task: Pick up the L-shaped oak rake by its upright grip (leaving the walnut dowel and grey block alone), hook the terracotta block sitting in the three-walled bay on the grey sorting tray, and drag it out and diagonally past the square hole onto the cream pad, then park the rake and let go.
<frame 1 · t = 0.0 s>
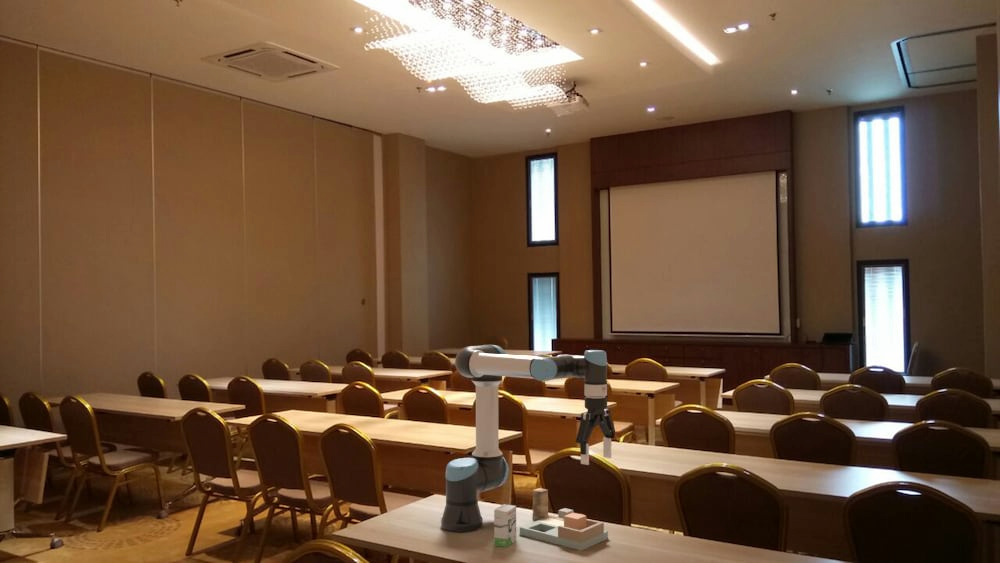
hand: (596, 460, 241), 28 cm above the table, fingers open, 13 cm apart
dowel: (590, 529, 259), on the table
crook: (540, 519, 270), on the table
block: (575, 532, 247), point 2 cm above the table, touching grey sorting tray
grey block: (565, 521, 268), on the table
grey sorting tray: (563, 536, 250), on the table
ink box: (505, 543, 244), on the table
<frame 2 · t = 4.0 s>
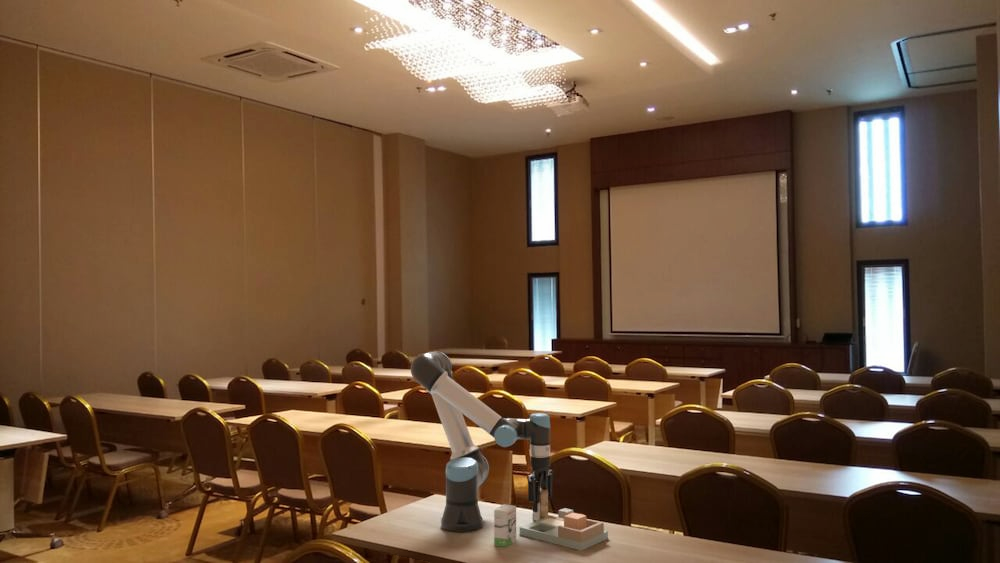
hand: (540, 518, 270), 0 cm above the table, fingers closed on crook, 4 cm apart
crook: (540, 519, 270), on the table, touching gripper
everything else where it was.
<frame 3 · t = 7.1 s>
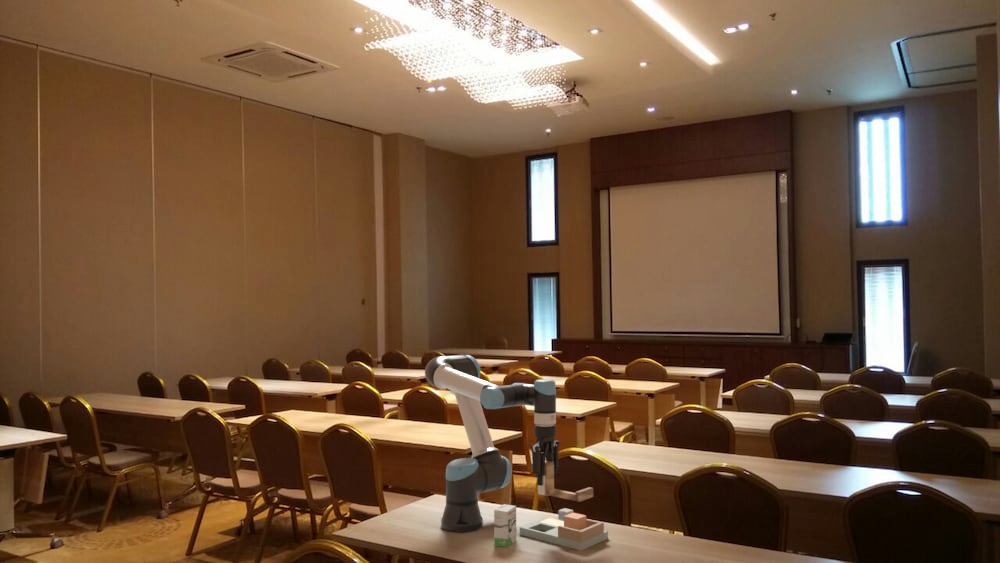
hand: (545, 492, 250), 15 cm above the table, fingers closed on crook, 4 cm apart
crook: (546, 494, 250), point 15 cm above the table, touching gripper
everything else where it was.
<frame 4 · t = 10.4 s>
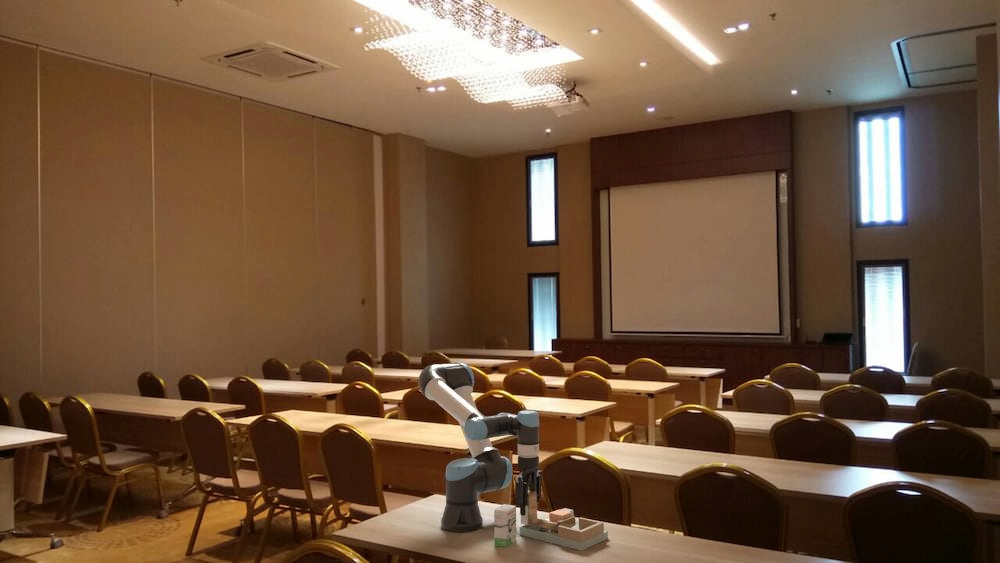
hand: (528, 522, 254), 4 cm above the table, fingers closed on crook, 4 cm apart
crook: (529, 523, 254), point 3 cm above the table, touching block, gripper
block: (560, 528, 251), point 3 cm above the table, touching crook
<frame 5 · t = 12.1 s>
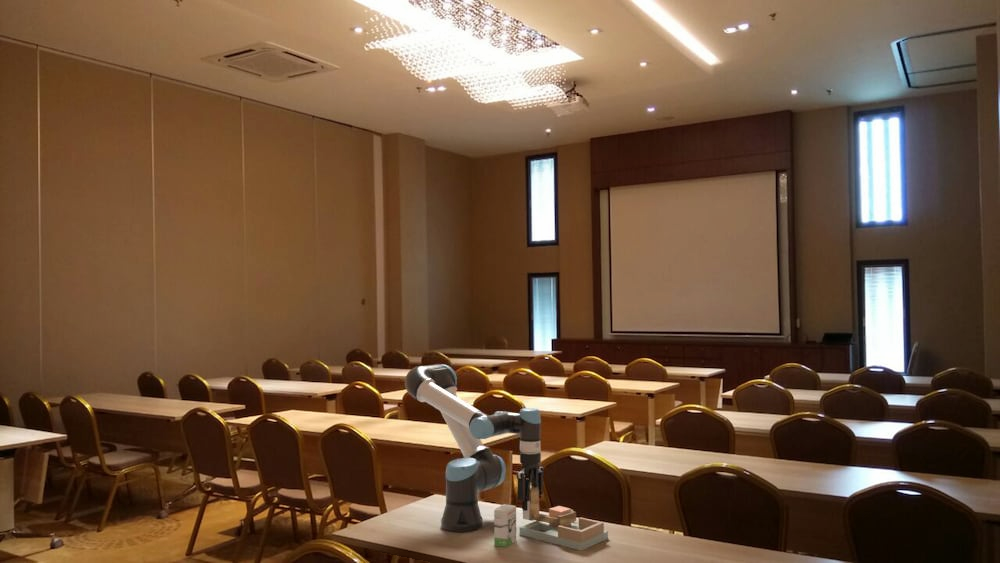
hand: (530, 517, 260), 4 cm above the table, fingers closed on crook, 4 cm apart
crook: (531, 518, 260), point 3 cm above the table, touching block, gripper
block: (560, 524, 256), point 3 cm above the table, touching crook, grey sorting tray
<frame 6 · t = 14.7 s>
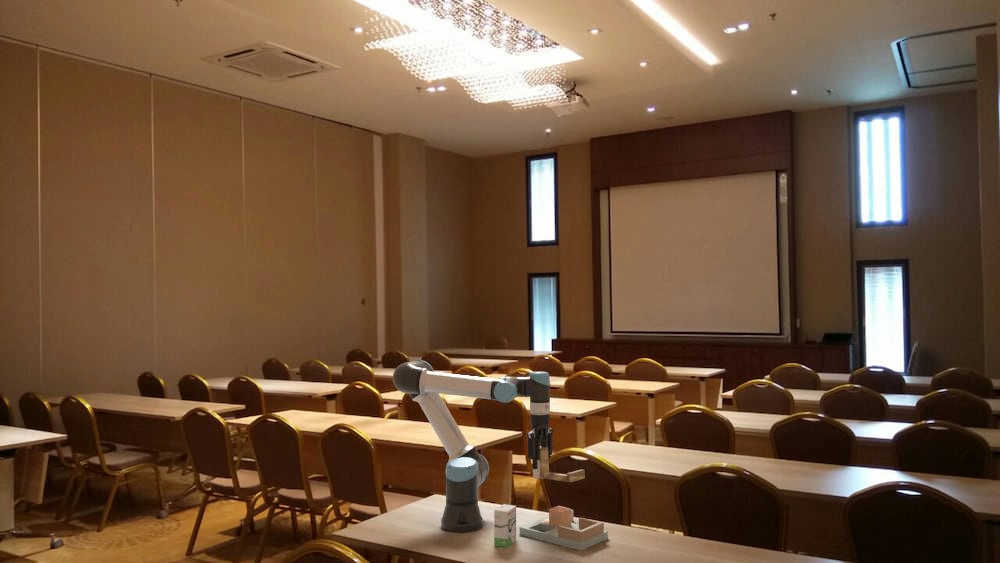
hand: (540, 476, 270), 16 cm above the table, fingers closed on crook, 4 cm apart
crook: (541, 477, 270), point 16 cm above the table, touching gripper
block: (560, 524, 256), point 3 cm above the table, touching grey sorting tray
when the fingers open (1 cm above the table, at t = 17.1 s): crook stays where it is, on the table.
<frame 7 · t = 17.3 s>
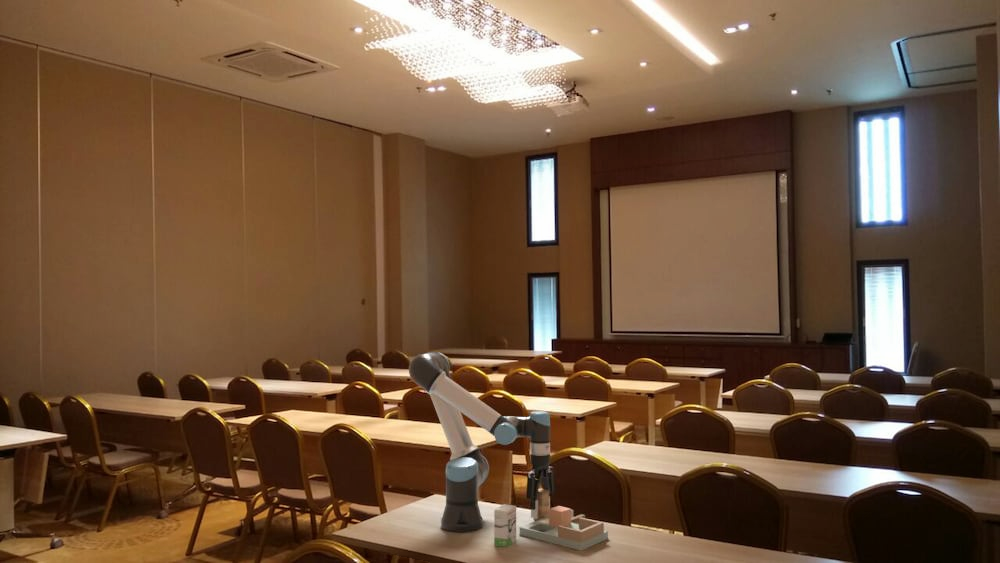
hand: (540, 515, 270), 1 cm above the table, fingers open, 7 cm apart
crook: (541, 520, 270), on the table
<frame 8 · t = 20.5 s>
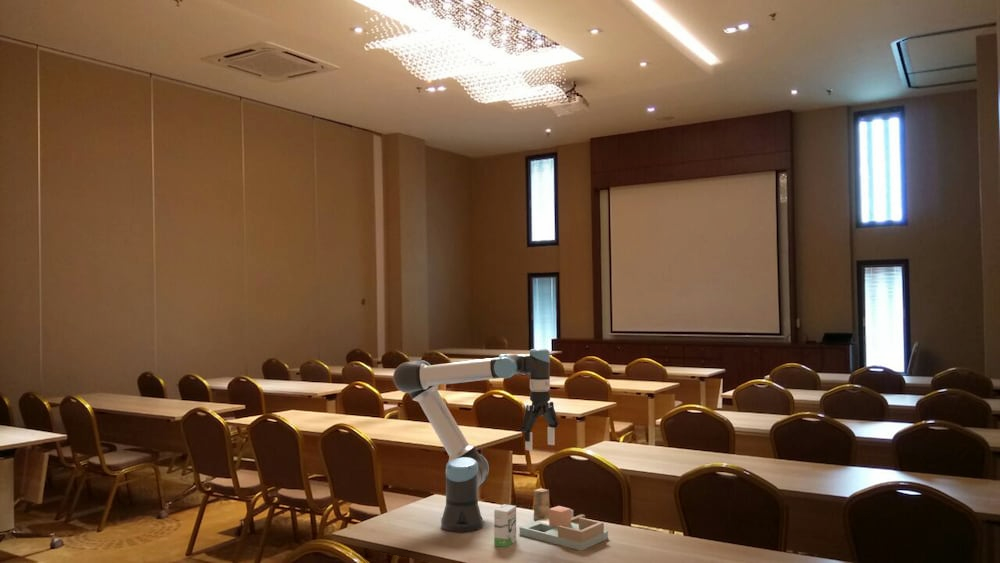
hand: (540, 447, 271), 27 cm above the table, fingers open, 13 cm apart
at the end: block inside the target area (1.8 cm from its centre), point 2.5 cm above the table; block tilted 0°; the gripper is holding nothing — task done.
